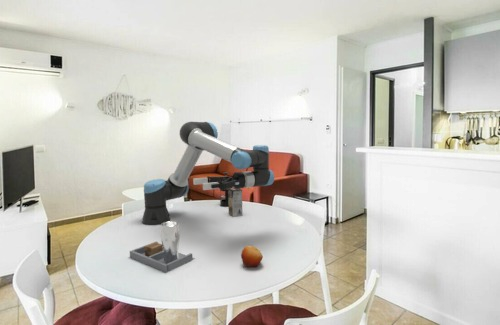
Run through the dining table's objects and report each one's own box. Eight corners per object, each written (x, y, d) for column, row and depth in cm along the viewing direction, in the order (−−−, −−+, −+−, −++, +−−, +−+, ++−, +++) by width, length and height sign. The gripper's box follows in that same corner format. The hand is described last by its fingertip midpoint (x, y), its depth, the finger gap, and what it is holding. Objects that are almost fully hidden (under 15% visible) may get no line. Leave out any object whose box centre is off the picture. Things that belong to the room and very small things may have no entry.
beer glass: (164, 267, 107) (162, 227, 106) (160, 260, 113) (158, 222, 112) (182, 262, 110) (181, 224, 109) (178, 256, 116) (176, 219, 115)
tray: (130, 258, 116) (129, 251, 116) (159, 247, 128) (159, 240, 127) (166, 274, 103) (165, 265, 103) (195, 259, 114) (195, 252, 114)
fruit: (235, 257, 112) (246, 239, 112) (253, 266, 113) (263, 249, 113) (236, 267, 104) (247, 248, 104) (255, 276, 105) (266, 258, 105)
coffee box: (228, 213, 179) (227, 187, 178) (237, 212, 182) (237, 187, 180) (233, 217, 171) (232, 190, 169) (243, 215, 173) (242, 189, 172)
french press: (234, 206, 195) (233, 173, 193) (220, 207, 194) (219, 173, 192) (233, 202, 207) (232, 170, 204) (219, 203, 206) (219, 171, 203)
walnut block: (145, 255, 118) (144, 245, 118) (155, 251, 122) (154, 242, 122) (152, 258, 115) (151, 248, 115) (162, 253, 119) (162, 244, 119)
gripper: (255, 193, 123) (207, 198, 113) (231, 183, 145) (190, 187, 135) (255, 175, 122) (207, 179, 112) (231, 168, 144) (189, 171, 134)
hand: (198, 184), depth 124 cm, fingers open, 13 cm apart
